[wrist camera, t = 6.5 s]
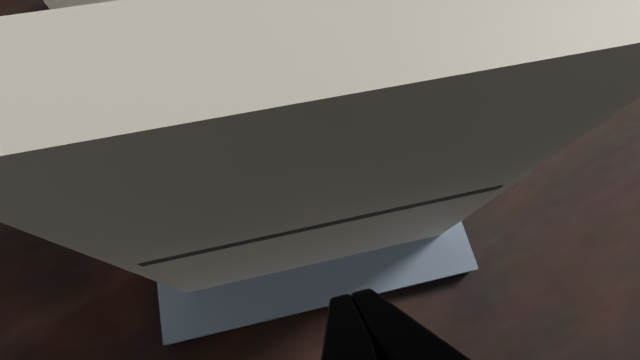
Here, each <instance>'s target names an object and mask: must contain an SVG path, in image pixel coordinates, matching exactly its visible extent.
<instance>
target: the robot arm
mask: <svg viewBox="0 0 640 360" xmlns="http://www.w3.org/2000/svg"><path fill="white" fill-rule="evenodd" d="M321 360H470V359H469V358H468V357H466V356H465V355H463V354H462V353H461V352H459V351H458V350H456V349H455V348H454V347H452V346H451V345H449V344H448V343H447V342H445V341H444V340H442V339H441V338H440V337H438V336H437V335H435V334H434V333H433V332H431V331H430V330H428V329H427V328H426V327H424V326H423V325H421V324H420V323H419V322H417V321H416V320H414V319H413V318H412V317H410V316H409V315H407V314H406V313H405V312H403V311H402V310H400V309H399V308H398V307H396V306H395V305H393V304H392V303H391V302H389V301H388V300H386V299H385V298H384V297H382V296H381V295H379V294H378V293H377V292H375V291H374V290H372V289H370V288H367V289H363V290H359V291H355V292H352V294H351V296H350V295H349V294H343V295H339V296H335V297H332V298H331V299H330V301H329V307H328V314H327V321H326V328H325V335H324V342H323V349H322V356H321Z"/></svg>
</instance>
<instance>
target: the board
mask: <svg viewBox="0 0 640 360" xmlns="http://www.w3.org/2000/svg"><path fill="white" fill-rule="evenodd" d="M477 269H478V266H477V263H476V261H475V258H474V255H473V252H472V249H471V247H470V244H469V241H468V238H467V235H466V233H465V230H464V227H463V224H462V221H460V222H459V223H457V224H456V225H454V226H453V227H452V228H450V229H449V230H447V231H446V232H444V233H443V234H441V235H438V236H434V237H429V238H425V239H420V240H416V241H412V242H407V243H403V244H399V245H394V246H390V247H385V248H381V249H377V250H372V251H368V252H363V253H359V254H355V255H350V256H346V257H342V258H337V259H333V260H328V261H324V262H320V263H315V264H311V265H307V266H302V267H298V268H293V269H289V270H285V271H280V272H276V273H271V274H267V275H263V276H258V277H254V278H250V279H245V280H241V281H236V282H232V283H228V284H223V285H219V286H215V287H210V288H206V289H201V290H197V291H193V292H188V293H185V292H183V291H180V290H177V289H175V288H172V287H169V286H167V285H164V284H162V283H159V282H157V289H158V299H159V309H160V319H161V329H162V339H163V345H171V344H175V343H179V342H183V341H187V340H191V339H195V338H199V337H204V336H208V335H212V334H216V333H220V332H224V331H228V330H232V329H237V328H241V327H245V326H249V325H253V324H257V323H261V322H265V321H270V320H274V319H278V318H282V317H286V316H290V315H294V314H298V313H303V312H307V311H311V310H315V309H319V308H323V307H327V306H329V301H330V299H331V298H332V297H335V296H339V295H343V294H349V295H350V296H351V294H352V292H355V291H359V290H363V289H367V288H370V289H372V290H374V291H375V292H377V293H378V294H381V293H385V292H389V291H393V290H397V289H401V288H406V287H410V286H414V285H418V284H422V283H426V282H430V281H434V280H439V279H443V278H447V277H451V276H455V275H459V274H463V273H467V272H471V271H474V270H477Z"/></svg>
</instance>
